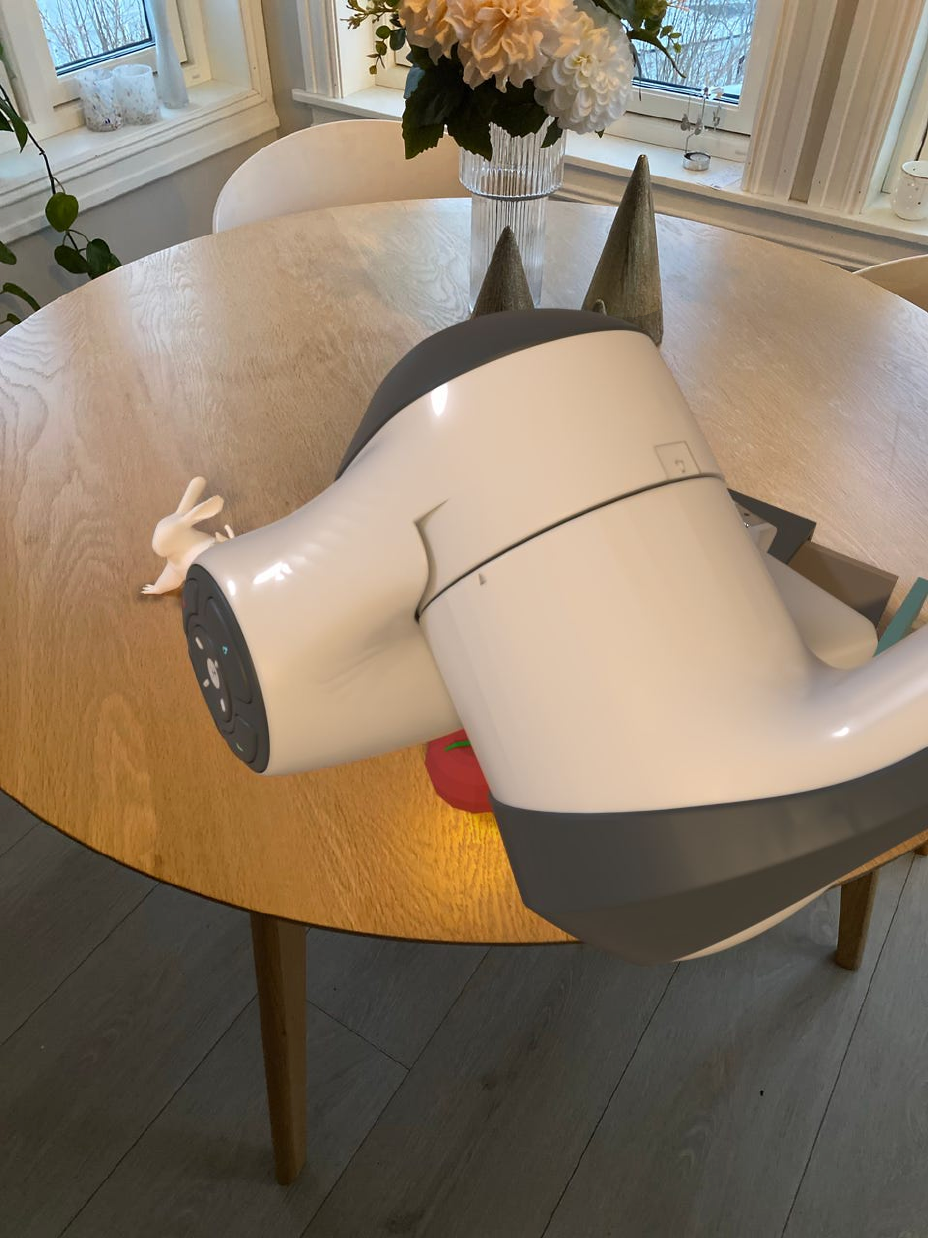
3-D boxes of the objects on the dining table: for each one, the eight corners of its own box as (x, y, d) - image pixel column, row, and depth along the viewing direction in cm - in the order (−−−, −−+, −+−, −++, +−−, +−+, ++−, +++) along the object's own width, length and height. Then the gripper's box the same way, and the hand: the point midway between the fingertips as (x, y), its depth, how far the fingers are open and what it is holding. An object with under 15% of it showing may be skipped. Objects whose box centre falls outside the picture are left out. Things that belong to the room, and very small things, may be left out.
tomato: (522, 743, 75) (527, 676, 70) (540, 826, 70) (547, 761, 64) (421, 752, 75) (418, 686, 69) (430, 837, 69) (428, 772, 64)
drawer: (966, 666, 80) (997, 607, 76) (918, 760, 73) (949, 701, 68) (740, 570, 89) (755, 511, 85) (677, 645, 82) (691, 586, 77)
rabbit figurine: (138, 593, 88) (112, 508, 81) (186, 545, 93) (165, 461, 86) (250, 628, 85) (233, 543, 78) (294, 577, 90) (281, 492, 83)
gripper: (794, 666, 32) (969, 586, 41) (432, 403, 44) (628, 384, 52) (723, 796, 36) (898, 698, 44) (405, 522, 47) (593, 485, 56)
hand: (750, 526), depth 48 cm, fingers closed
